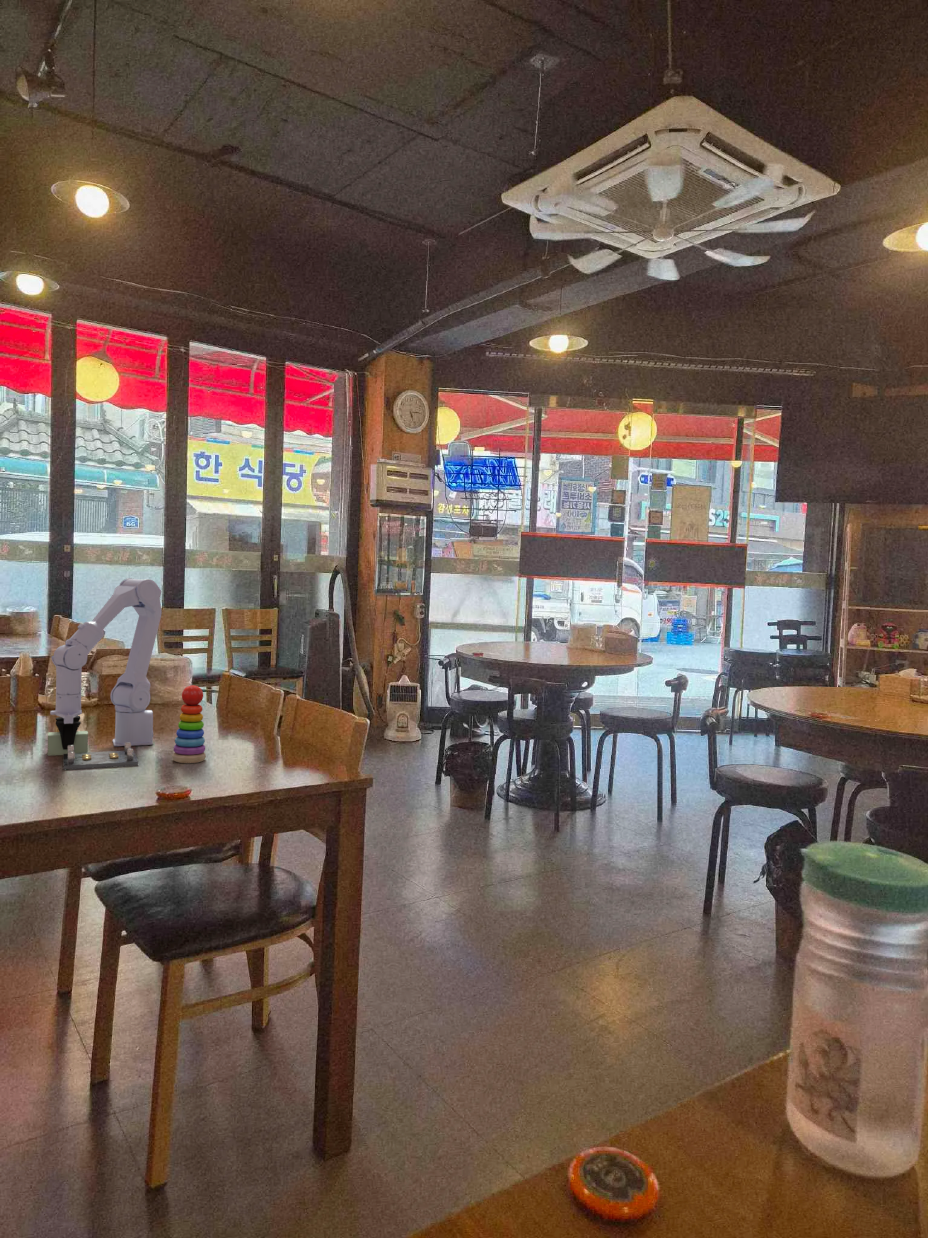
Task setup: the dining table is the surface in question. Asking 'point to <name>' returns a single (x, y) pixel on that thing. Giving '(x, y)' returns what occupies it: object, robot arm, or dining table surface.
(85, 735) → the block
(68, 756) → the plate
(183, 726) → the stacking toy
